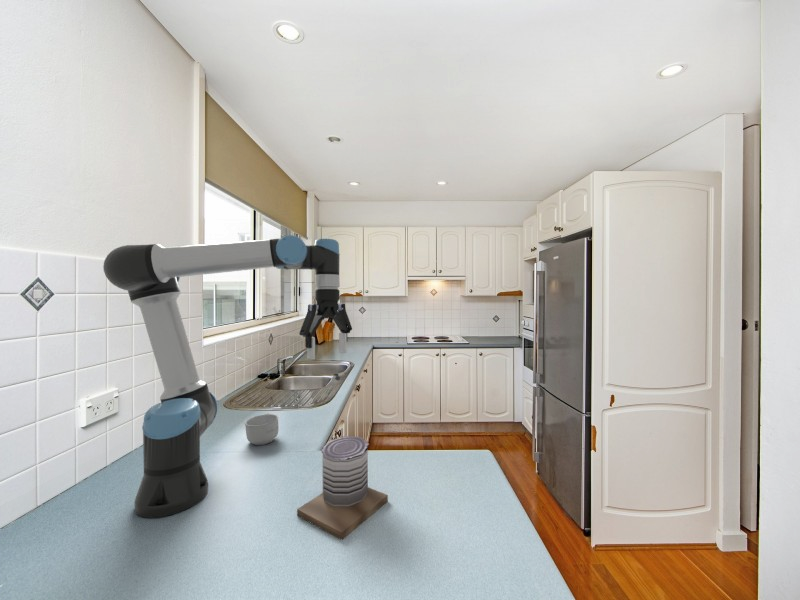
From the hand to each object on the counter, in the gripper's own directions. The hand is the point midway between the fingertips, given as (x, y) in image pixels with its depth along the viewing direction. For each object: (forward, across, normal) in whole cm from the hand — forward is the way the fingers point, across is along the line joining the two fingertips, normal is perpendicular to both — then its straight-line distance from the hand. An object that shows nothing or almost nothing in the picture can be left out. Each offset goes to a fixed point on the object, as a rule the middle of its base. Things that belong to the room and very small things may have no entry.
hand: (327, 355), depth 107 cm
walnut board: (+32, +17, +23) cm, 43 cm away
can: (+30, +14, +21) cm, 40 cm away
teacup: (+32, +4, -28) cm, 43 cm away
